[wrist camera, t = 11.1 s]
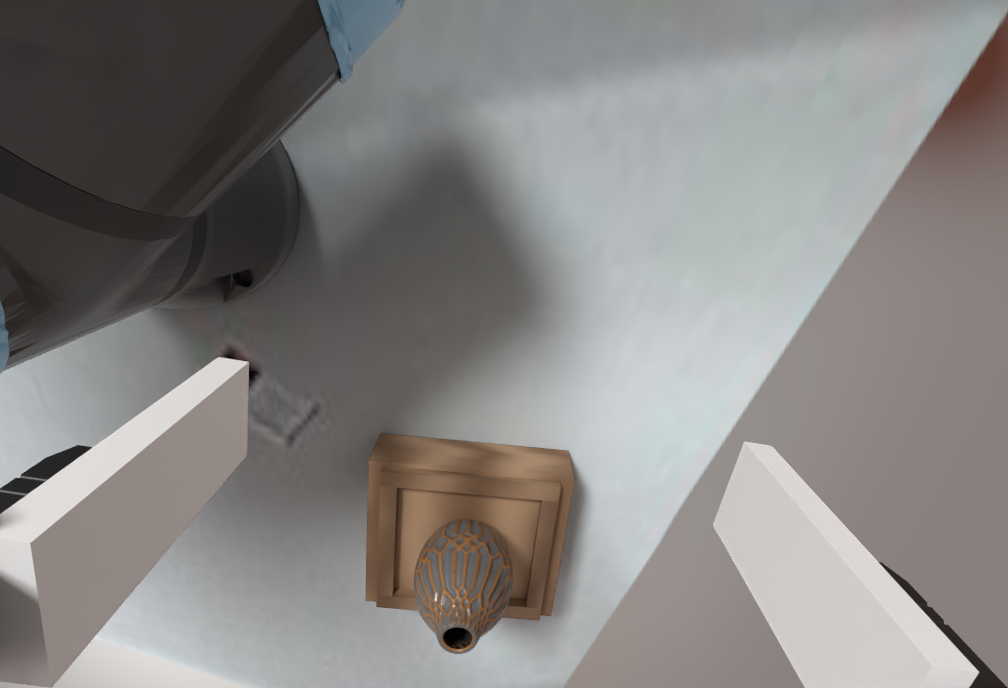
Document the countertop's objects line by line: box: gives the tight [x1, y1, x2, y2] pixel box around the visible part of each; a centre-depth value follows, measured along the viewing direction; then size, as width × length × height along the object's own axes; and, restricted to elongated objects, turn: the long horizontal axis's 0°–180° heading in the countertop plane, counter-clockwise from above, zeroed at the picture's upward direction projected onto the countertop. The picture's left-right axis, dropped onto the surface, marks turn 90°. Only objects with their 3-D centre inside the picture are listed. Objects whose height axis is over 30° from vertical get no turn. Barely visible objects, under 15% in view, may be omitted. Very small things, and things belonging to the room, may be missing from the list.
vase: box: [414, 519, 513, 654], centre depth 37 cm, size 7×7×9 cm
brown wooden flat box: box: [366, 433, 575, 620], centre depth 42 cm, size 15×13×5 cm
